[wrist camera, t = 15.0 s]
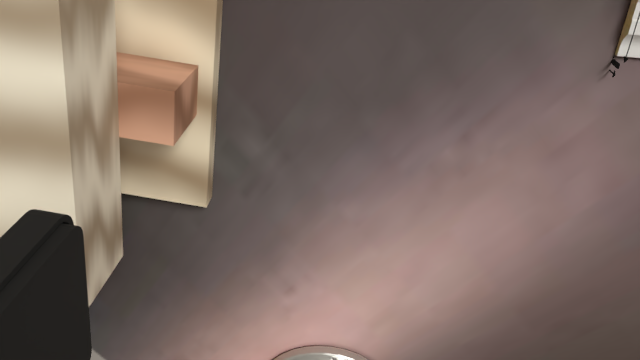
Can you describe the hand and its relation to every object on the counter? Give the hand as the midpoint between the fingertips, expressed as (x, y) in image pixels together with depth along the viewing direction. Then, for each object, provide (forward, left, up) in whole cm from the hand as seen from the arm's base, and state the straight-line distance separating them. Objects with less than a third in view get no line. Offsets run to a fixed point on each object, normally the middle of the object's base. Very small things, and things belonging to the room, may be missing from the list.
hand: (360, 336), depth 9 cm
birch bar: (-8, +16, -24) cm, 30 cm away
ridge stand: (-8, +16, -30) cm, 35 cm away
